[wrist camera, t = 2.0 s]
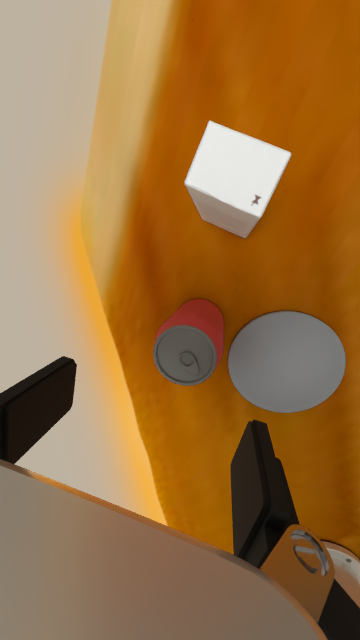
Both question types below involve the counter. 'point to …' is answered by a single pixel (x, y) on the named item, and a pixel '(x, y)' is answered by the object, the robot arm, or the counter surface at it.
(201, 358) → the beer can
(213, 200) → the skincare box
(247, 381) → the slate mat
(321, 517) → the counter surface
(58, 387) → the robot arm
